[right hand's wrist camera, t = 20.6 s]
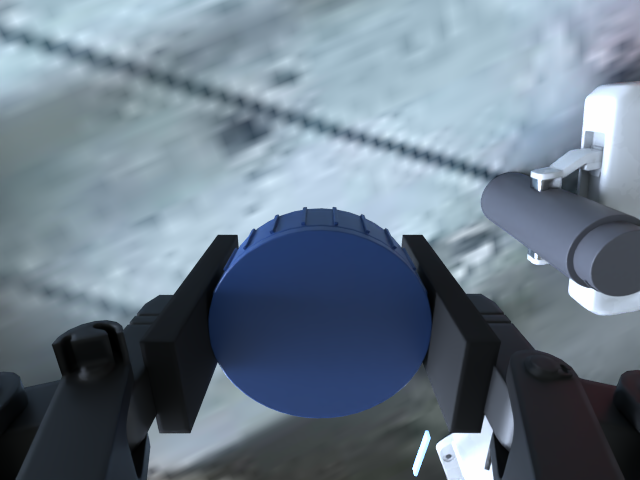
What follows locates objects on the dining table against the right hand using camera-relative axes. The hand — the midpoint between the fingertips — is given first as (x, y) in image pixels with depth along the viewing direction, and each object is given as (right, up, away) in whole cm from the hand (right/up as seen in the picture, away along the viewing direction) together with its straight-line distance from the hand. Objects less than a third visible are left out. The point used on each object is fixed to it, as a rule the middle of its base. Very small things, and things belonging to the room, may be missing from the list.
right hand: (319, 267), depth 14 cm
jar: (+20, +5, +23) cm, 31 cm away
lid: (0, -2, -4) cm, 4 cm away
